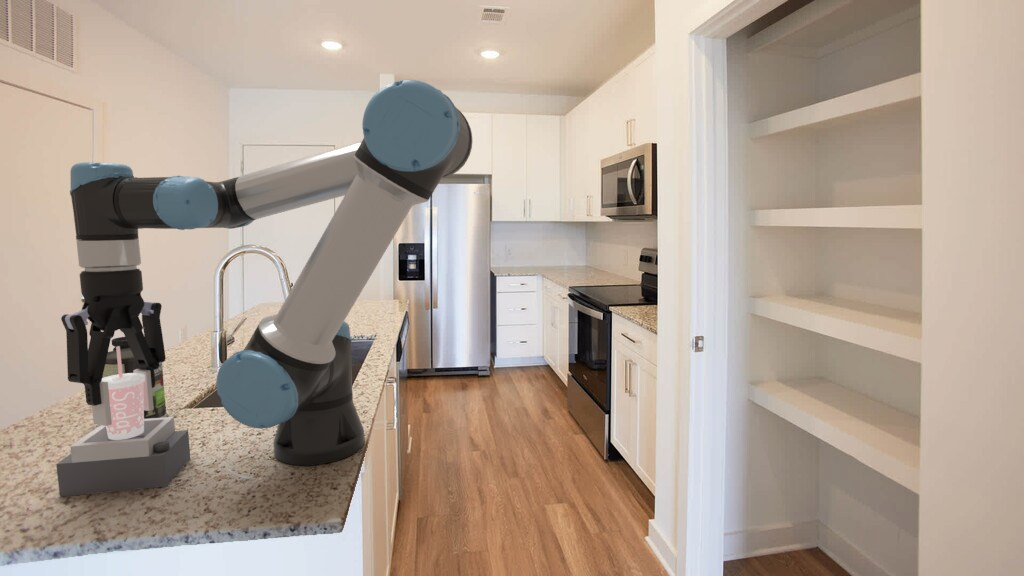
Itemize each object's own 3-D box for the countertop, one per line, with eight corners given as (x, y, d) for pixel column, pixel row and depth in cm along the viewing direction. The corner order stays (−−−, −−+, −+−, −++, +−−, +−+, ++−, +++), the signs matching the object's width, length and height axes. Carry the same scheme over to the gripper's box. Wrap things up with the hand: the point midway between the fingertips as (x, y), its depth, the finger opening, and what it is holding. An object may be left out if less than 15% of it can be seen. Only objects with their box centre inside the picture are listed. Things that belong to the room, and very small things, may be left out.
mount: (190, 458, 91) (186, 413, 90) (166, 486, 82) (162, 436, 81) (96, 466, 88) (91, 420, 87) (59, 496, 79) (54, 445, 78)
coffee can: (173, 409, 115) (168, 344, 114) (158, 426, 106) (152, 356, 104) (117, 414, 112) (110, 348, 111) (95, 432, 103) (88, 360, 101)
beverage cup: (94, 444, 80) (84, 352, 79) (112, 428, 86) (103, 343, 84) (141, 439, 82) (132, 349, 80) (155, 424, 88) (148, 341, 86)
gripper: (151, 263, 91) (162, 395, 94) (20, 273, 73) (39, 436, 76) (185, 264, 89) (195, 399, 92) (58, 275, 71) (76, 443, 74)
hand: (124, 416), depth 84 cm, fingers closed on beverage cup, 6 cm apart
